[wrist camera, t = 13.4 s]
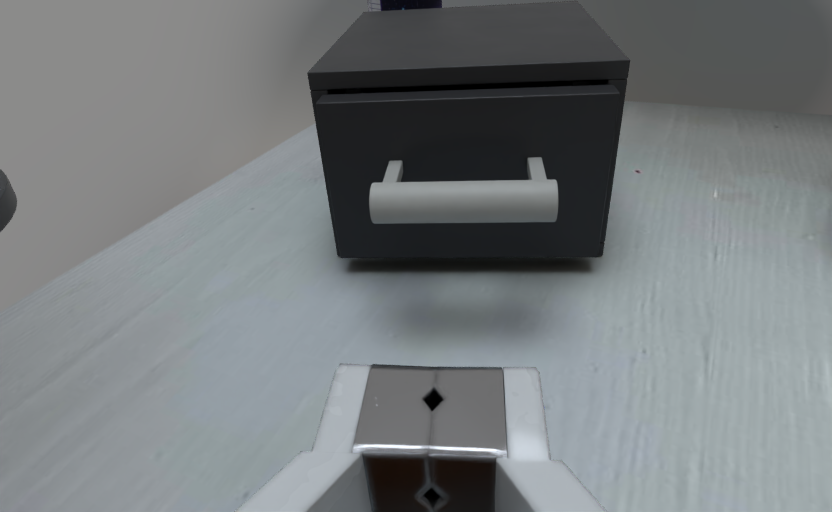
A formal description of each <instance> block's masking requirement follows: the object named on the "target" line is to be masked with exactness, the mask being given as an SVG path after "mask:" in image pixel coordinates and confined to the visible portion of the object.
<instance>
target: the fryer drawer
mask: <svg viewBox="0 0 832 512" xmlns="http://www.w3.org/2000/svg"><path fill="white" fill-rule="evenodd" d="M619 95H620V93H619V92H618V90H617V89H616V87H615V86H614V85H590V80H580V81H552V82H525V83H497V84H470V85H442V86H415V87H387V88H359V89H345V94H333V95H322V96H321V97H320V99H319V100H318V101H317V103H316V107H317V114H318V120H319V126H320V132H321V139H322V145H323V151H324V157H325V163H326V170H327V176H328V182H329V188H330V195H331V201H332V207H333V213H334V219H335V226H336V232H337V238H338V244H339V251H340V257H341V258H495V257H598V252H599V244H600V237H601V229H602V222H603V215H604V207H605V200H606V192H607V185H608V177H609V170H610V162H611V155H612V147H613V140H614V133H615V125H616V118H617V110H618V103H619Z"/></svg>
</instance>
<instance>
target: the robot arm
mask: <svg viewBox="0 0 832 512" xmlns="http://www.w3.org/2000/svg"><path fill="white" fill-rule="evenodd" d="M234 512H607V511H606V510H605V509H604V507H603V506H602V505H601V504H600V503H599V502H598V501H597V499H596V498H595V497H594V496H593V495H592V494H591V493H590V492H589V490H588V489H587V488H586V487H585V486H584V485H583V484H582V483H581V481H580V480H579V479H578V478H577V477H576V476H575V475H574V474H573V472H572V471H571V470H570V469H569V468H568V467H567V466H566V464H565V463H564V462H563V461H558V460H551V455H550V448H549V440H548V433H547V425H546V418H545V411H544V403H543V396H542V388H541V381H540V373H539V371H538V369H537V368H536V367H503V369H502V367H423V366H400V365H377V364H373V365H360V364H340V365H339V366H338V368H337V369H336V371H335V373H334V376H333V380H332V383H331V387H330V390H329V393H328V397H327V400H326V403H325V407H324V410H323V414H322V417H321V420H320V424H319V427H318V430H317V434H316V437H315V441H314V444H313V447H312V451H301V452H300V453H299V454H298V455H296V456H295V457H294V458H293V459H292V460H291V461H290V462H289V463H288V464H286V465H285V466H284V467H283V468H282V469H281V470H280V471H279V472H278V473H277V474H275V475H274V476H273V477H272V478H271V479H270V480H269V481H268V482H267V483H265V484H264V485H263V486H262V487H261V488H260V489H259V490H258V491H257V492H256V493H254V494H253V495H252V496H251V497H250V498H249V499H248V500H247V501H246V502H244V503H243V504H242V505H241V506H240V507H239V508H238V509H237V510H236V511H234Z"/></svg>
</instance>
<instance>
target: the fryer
mask: <svg viewBox="0 0 832 512" xmlns="http://www.w3.org/2000/svg"><path fill="white" fill-rule="evenodd" d="M629 64H630V59H629V58H628V57H627V56H626V55H625V54H624V53H623V51H622V50H621V49H620V48H619V47H618V46H617V45H616V44H615V43H614V42H613V40H612V39H611V38H610V37H609V36H608V35H607V34H606V33H605V31H604V30H603V29H602V28H601V27H600V26H599V25H598V24H597V23H596V21H595V20H594V19H593V18H592V17H591V16H590V15H589V14H588V13H587V11H586V10H585V9H584V8H583V7H582V6H581V5H580V4H579V3H578V1H567V2H546V3H528V4H507V5H489V6H469V7H450V8H430V9H410V10H391V11H372V12H363V14H362V15H361V16H360V17H359V18H358V19H357V20H356V21H355V22H354V23H353V24H352V25H351V26H350V28H349V29H348V30H347V31H346V32H345V33H344V34H343V35H342V36H341V37H340V38H339V39H338V40H337V41H336V43H335V44H334V45H333V46H332V47H331V48H330V49H329V50H328V51H327V52H326V53H325V54H324V55H323V57H322V58H321V59H320V60H319V61H318V62H317V63H316V64H315V65H314V66H313V67H312V68H311V70H309V72H308V79H309V86H310V90H311V97H312V103H313V109H314V115H315V121H316V128H317V134H318V140H319V146H320V152H321V158H322V164H323V170H324V176H325V182H326V189H327V195H328V201H329V207H330V213H331V219H332V225H333V231H334V237H335V243H336V249H337V255H338V256H340V251H339V244H338V238H337V232H336V226H335V219H334V213H333V207H332V201H331V195H330V188H329V182H328V176H327V170H326V163H325V157H324V151H323V145H322V139H321V132H320V126H319V120H318V114H317V107H316V103H317V101H318V100H319V99H320V97H321V96H322V95H333V94H345V89H359V88H387V87H415V86H442V85H470V84H497V83H525V82H552V81H580V80H590V85H614V86H615V87H616V89H617V90H618V92H619V93H620V95H619V103H618V110H617V118H616V125H615V133H614V140H613V147H612V155H611V162H610V170H609V177H608V185H607V192H606V200H605V207H604V215H603V222H602V229H601V237H600V244H599V252H598V256H602V255H603V249H604V241H605V235H606V228H607V221H608V214H609V207H610V200H611V192H612V185H613V178H614V171H615V164H616V157H617V149H618V142H619V135H620V128H621V121H622V114H623V106H624V99H625V92H626V85H627V77H628V71H629Z"/></svg>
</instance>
